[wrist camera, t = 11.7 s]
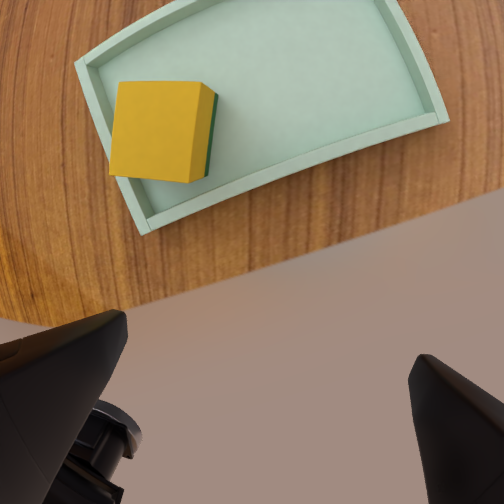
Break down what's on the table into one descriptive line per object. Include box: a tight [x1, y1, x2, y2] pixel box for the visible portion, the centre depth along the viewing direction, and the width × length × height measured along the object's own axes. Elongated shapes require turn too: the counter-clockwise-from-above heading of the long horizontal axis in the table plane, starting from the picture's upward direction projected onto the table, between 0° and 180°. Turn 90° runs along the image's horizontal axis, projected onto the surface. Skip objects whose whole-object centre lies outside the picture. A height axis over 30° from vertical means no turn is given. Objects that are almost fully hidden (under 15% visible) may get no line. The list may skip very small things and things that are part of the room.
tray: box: [74, 0, 450, 236], centre depth 16 cm, size 20×13×2 cm, turn 112°
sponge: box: [109, 81, 218, 184], centre depth 16 cm, size 5×4×4 cm
